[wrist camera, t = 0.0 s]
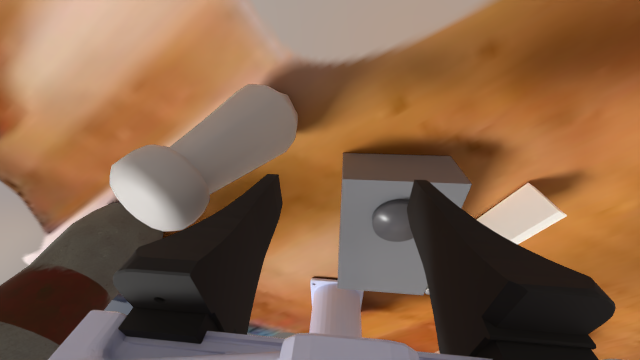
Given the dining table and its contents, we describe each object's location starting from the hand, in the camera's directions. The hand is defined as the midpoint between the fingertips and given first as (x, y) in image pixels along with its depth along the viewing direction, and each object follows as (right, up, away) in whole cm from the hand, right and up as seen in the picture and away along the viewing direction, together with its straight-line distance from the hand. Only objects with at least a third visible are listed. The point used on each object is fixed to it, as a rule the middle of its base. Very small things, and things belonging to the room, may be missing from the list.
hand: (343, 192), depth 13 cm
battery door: (+16, -5, +14) cm, 22 cm away
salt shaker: (-5, +7, +8) cm, 12 cm away
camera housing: (+6, -4, +14) cm, 16 cm away
